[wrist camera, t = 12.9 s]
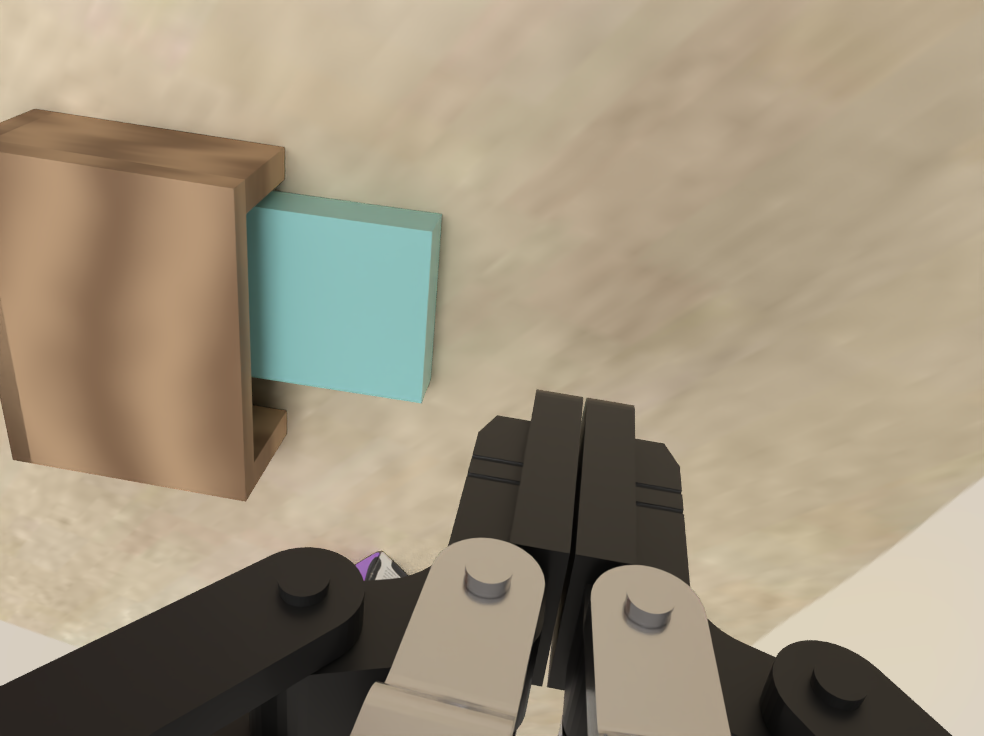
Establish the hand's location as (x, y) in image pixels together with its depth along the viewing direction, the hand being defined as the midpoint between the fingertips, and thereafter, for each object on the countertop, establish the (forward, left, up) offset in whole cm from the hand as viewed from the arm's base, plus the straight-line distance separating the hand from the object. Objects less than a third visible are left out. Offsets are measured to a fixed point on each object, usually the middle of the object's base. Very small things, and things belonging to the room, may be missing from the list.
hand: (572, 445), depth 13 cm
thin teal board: (+14, +12, -28) cm, 33 cm away
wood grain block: (+20, +13, -27) cm, 36 cm away
